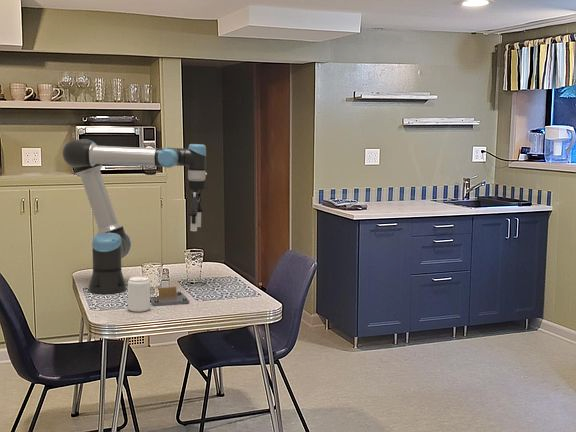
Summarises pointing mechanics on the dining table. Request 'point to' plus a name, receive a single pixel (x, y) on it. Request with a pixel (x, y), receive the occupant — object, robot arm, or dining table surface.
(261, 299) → the dining table surface
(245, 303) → the dining table surface
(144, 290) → the beverage can
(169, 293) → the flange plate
